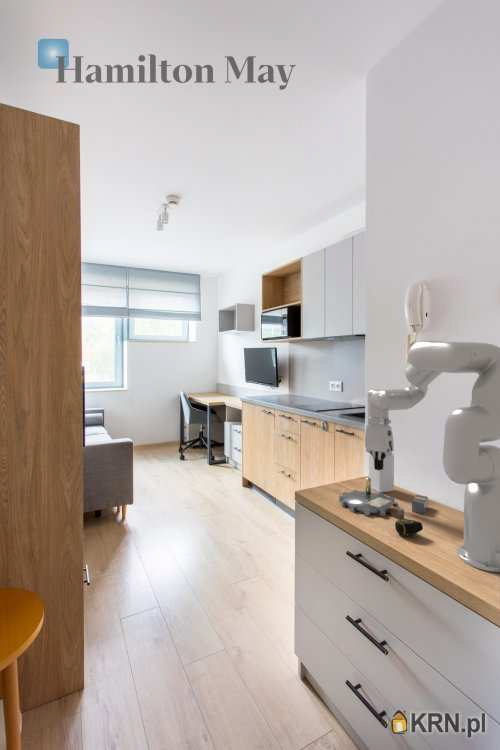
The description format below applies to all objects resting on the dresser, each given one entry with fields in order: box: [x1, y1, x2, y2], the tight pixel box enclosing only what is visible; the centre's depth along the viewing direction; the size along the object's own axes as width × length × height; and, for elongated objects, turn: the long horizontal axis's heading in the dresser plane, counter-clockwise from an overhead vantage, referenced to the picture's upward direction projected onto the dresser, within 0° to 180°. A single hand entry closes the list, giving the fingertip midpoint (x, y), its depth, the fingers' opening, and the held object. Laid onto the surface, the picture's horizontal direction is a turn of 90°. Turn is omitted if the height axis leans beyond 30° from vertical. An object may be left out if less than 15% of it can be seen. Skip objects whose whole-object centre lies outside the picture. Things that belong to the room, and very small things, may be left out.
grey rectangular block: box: [411, 494, 429, 515], centre depth 131 cm, size 4×8×4 cm, turn 145°
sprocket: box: [338, 476, 399, 517], centre depth 134 cm, size 21×21×8 cm
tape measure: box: [394, 518, 424, 536], centre depth 111 cm, size 7×7×4 cm
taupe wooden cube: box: [391, 506, 405, 520], centre depth 124 cm, size 3×2×3 cm
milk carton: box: [368, 452, 395, 493], centre depth 152 cm, size 7×7×19 cm
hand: (378, 469), depth 138 cm, fingers closed
